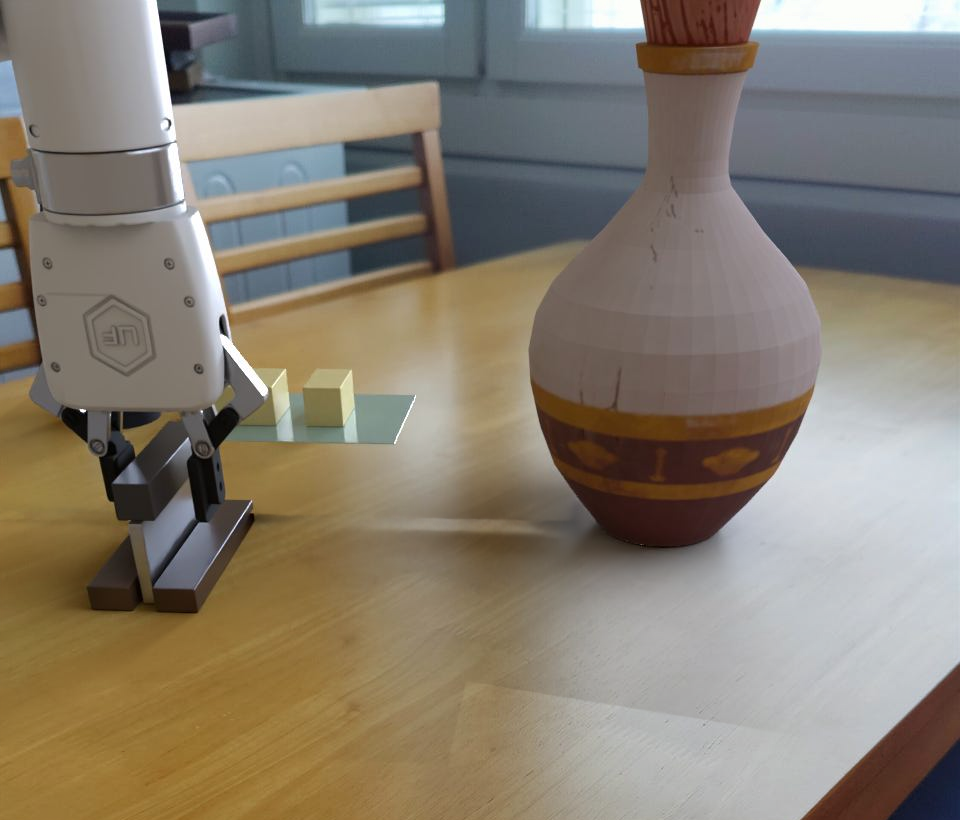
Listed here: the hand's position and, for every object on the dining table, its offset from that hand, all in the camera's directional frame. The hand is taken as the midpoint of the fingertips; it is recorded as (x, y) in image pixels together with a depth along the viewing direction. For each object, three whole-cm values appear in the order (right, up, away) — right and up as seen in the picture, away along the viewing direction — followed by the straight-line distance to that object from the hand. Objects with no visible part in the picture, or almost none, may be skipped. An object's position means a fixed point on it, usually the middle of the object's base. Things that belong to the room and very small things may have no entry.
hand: (169, 510), depth 75 cm
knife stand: (0, -3, +2) cm, 3 cm away
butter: (+1, +14, +22) cm, 26 cm away
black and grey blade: (0, -3, +2) cm, 3 cm away
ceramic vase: (+32, +1, +7) cm, 32 cm away
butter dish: (+5, +13, +22) cm, 26 cm away
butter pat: (+7, +14, +22) cm, 27 cm away
